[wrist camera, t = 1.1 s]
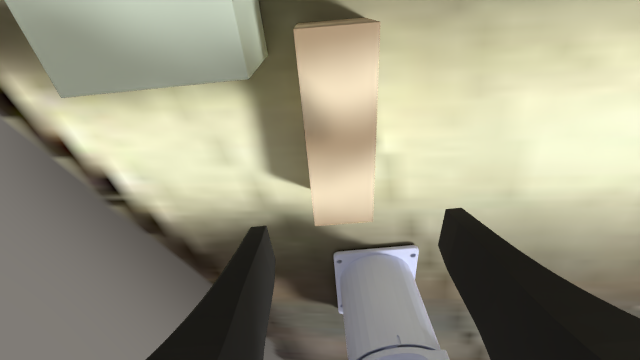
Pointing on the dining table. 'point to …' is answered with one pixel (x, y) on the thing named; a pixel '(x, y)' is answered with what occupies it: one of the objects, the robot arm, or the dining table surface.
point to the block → (141, 42)
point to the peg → (339, 115)
